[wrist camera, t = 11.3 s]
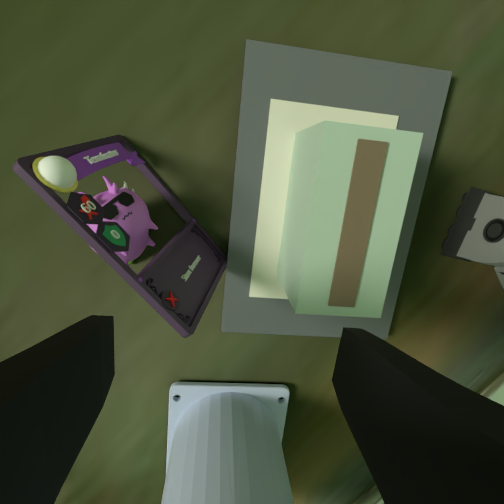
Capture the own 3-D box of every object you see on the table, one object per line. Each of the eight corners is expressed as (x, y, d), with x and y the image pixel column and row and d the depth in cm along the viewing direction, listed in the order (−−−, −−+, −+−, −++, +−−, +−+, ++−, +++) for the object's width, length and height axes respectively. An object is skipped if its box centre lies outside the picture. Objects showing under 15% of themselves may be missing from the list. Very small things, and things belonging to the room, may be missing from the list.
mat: (382, 334, 21) (387, 340, 21) (221, 326, 20) (221, 332, 19) (444, 74, 17) (454, 71, 16) (245, 44, 16) (246, 38, 15)
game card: (204, 329, 13) (23, 145, 10) (127, 372, 15) (-38, 228, 12) (239, 253, 18) (129, 124, 16) (180, 291, 21) (75, 183, 18)
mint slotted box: (366, 141, 17) (424, 132, 12) (340, 279, 19) (381, 319, 14) (294, 133, 16) (326, 120, 12) (276, 275, 19) (296, 314, 14)
